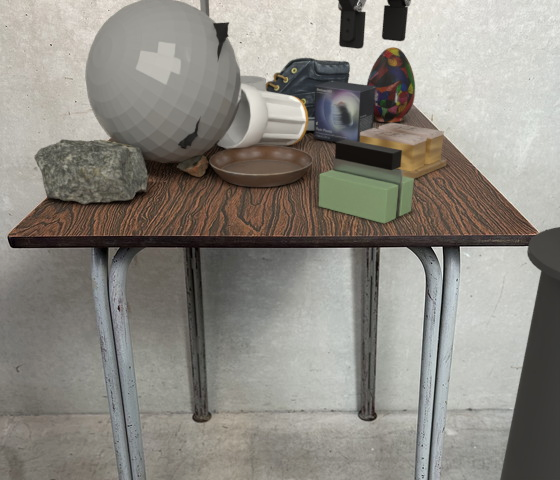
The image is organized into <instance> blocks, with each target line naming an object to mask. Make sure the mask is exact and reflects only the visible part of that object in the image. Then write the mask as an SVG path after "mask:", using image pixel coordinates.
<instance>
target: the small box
mask: <svg viewBox="0 0 560 480" xmlns="http://www.w3.org/2000/svg"><path fill="white" fill-rule="evenodd" d="M375 88H376V87H375V86H370V85H367V84H361V83H353V82H348V83H346V82H338V81H329V82H326V83H322V84H319V85H316V86H315V120H314V131H313V139H316V140H321V141H326V142H333V143H336V142H338V141H341V140H345V139H346V140H351V141H356V142H360V132H362V131H365V130H369V129H372V128H374V115H373V114H374V97H375Z"/></svg>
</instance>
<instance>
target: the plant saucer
mask: <svg viewBox="0 0 560 480" xmlns="http://www.w3.org/2000/svg"><path fill="white" fill-rule="evenodd" d="M313 163H314V156H313V155H312V154H311V153H309V152H307V151H305V150H302V149H299V148H296V147H290V146H285V145H279V146H274V145H253V146H249V147H243V148H230V149H226V148H225V149H223V150H220V151H217V152H215V153H214V154H212V155H211V156H210V157H209V159H208V164H209V165H210V166H211V168H212V169H213V171H214V172H215V173H216V174H217V175H218V176H219V178H220V179H222V180H223V181H225V182H227V183H230V184H231V185H236V186H240V187H247V188H272V187H279V186H285V185H288V184H289V185H290V184H292V183H294V182H296V181H298V180H301V178H302V177H303V176H304V175H305V174H306V173H307V172H308V171H309V169H310V168H311V166H312V165H313Z"/></svg>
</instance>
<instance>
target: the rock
mask: <svg viewBox="0 0 560 480" xmlns="http://www.w3.org/2000/svg"><path fill="white" fill-rule="evenodd" d="M33 157H34V160H35V162H36V164H37V167H38V168H39V170H40V173H41V177H42V184H43V188H44V191H45V195H46V197H47V199H55V200H57V199H58V200H61V201H63V202H72V201H73V202H77V203H79V204H81V205H83V206H84V205H88V204H91V203H92V204H93V203H94V204H96V203H97V204H98V203H111V202H112V203H113V202H115V201H124V202H125V201H130V200H133V199H134V197H135V195H136V194H138V193H139V194H140V193H147V191H148V179H149V175H148V170H147V167H146V160H145V159H144V158H143V155H142V150H141V149H140V148H137V147H132V146H130V145H126V144H120V143H115V142H114V141H110V140H105V139H94V140H88V141H87V140H86V141H85V140H82V139H81V140H78V139H77V140H72V139H71V140H70V139H64V138H63V139H60V141H58V142H56V143H53V144H49V145H47V146H43V147H41V148H40V149H39V150H38V151H37V152H36V154H34V156H33Z"/></svg>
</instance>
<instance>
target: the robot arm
mask: <svg viewBox="0 0 560 480" xmlns="http://www.w3.org/2000/svg"><path fill="white" fill-rule="evenodd" d="M337 1H338V3H337V9H338V10H339V11H340V18H339V19H340V20H339V38H338V45H339V46H340V47H341V48H348V49H355V50H356V49H357V50H359V49H363V48H364V44H365V28H366V16H367V15H366V13H367V12H366V11H363V9H364V7H365V4H366V2H367V0H337ZM386 2H387V4H385V5H384V6H383V16H382V17H383V18H382V27H381V28H382V30H381V39H383V40H386V41H395V42H404V41H405V39H406V33H407V20H408V13H409V11H408V10H409V6H410V5H411V2H412V0H386Z"/></svg>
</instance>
